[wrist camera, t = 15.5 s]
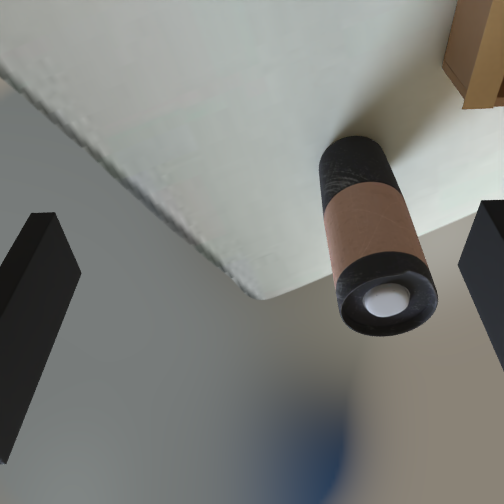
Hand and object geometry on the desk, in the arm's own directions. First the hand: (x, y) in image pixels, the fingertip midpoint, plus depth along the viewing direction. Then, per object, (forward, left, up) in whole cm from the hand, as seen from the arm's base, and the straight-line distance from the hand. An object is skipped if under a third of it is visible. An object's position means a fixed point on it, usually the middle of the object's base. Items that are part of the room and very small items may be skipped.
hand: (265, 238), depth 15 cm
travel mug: (+18, +9, -32) cm, 38 cm away
